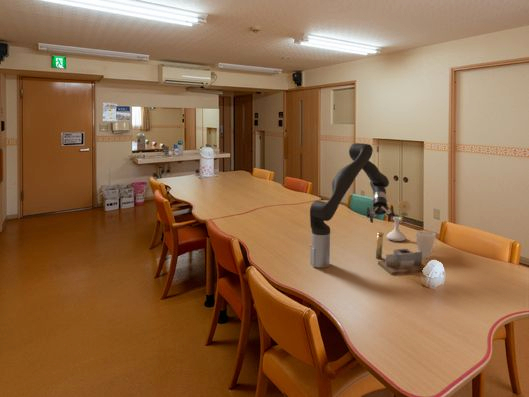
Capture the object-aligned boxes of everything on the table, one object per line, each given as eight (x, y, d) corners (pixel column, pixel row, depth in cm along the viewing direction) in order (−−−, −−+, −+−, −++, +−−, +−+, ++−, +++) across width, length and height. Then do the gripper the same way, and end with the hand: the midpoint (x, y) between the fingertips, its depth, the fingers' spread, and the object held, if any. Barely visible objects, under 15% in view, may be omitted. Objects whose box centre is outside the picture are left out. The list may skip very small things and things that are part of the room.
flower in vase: (387, 242, 219) (390, 201, 214) (384, 236, 230) (386, 197, 225) (410, 243, 217) (413, 202, 212) (406, 237, 228) (409, 198, 223)
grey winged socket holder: (389, 269, 177) (389, 255, 175) (382, 263, 183) (382, 250, 182) (425, 266, 180) (426, 252, 178) (417, 260, 186) (417, 247, 185)
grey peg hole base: (391, 275, 174) (391, 272, 173) (377, 263, 187) (378, 261, 187) (430, 271, 177) (430, 268, 176) (413, 260, 190) (414, 258, 190)
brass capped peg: (377, 259, 192) (378, 234, 189) (374, 257, 196) (375, 232, 193) (383, 259, 193) (385, 234, 190) (380, 256, 196) (381, 232, 194)
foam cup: (436, 255, 197) (438, 232, 194) (430, 260, 190) (432, 236, 187) (418, 251, 203) (420, 229, 200) (411, 256, 196) (413, 233, 194)
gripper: (366, 197, 207) (365, 217, 195) (392, 194, 202) (393, 215, 190) (367, 207, 211) (367, 227, 199) (393, 205, 206) (395, 225, 194)
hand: (380, 221), depth 195 cm, fingers open, 8 cm apart
